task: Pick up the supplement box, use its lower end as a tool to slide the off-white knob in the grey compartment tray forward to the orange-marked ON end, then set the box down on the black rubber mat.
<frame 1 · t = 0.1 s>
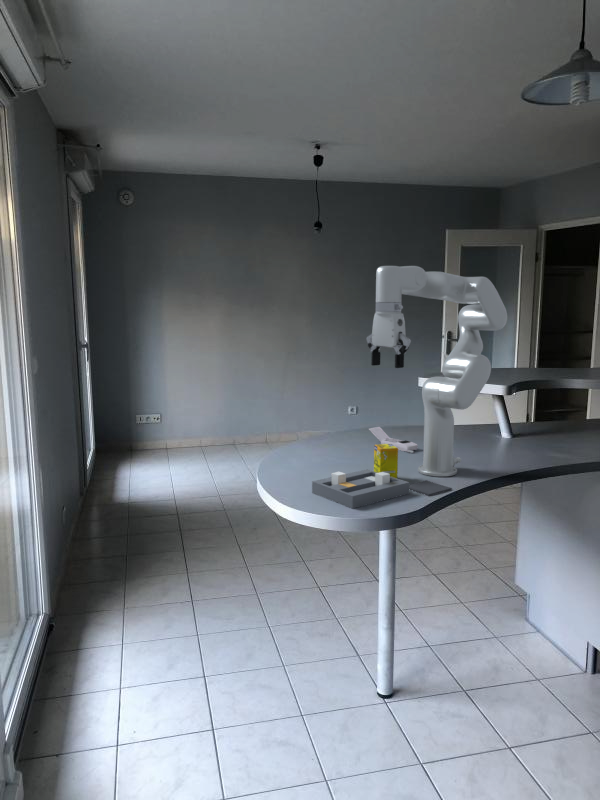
hand: (387, 366, 188), 37 cm above the breakfast bar, tool pointing down, fingers open, 9 cm apart
grey compartment tray: (360, 493, 185), on the breakfast bar
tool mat: (427, 488, 189), on the breakfast bar
switch a: (382, 479, 184), point 4 cm above the breakfast bar, slide at 0.0 cm
supplement box: (385, 480, 199), on the breakfast bar
switch b: (338, 479, 184), point 4 cm above the breakfast bar, slide at 10.0 cm
mobile phone: (393, 447, 244), on the breakfast bar
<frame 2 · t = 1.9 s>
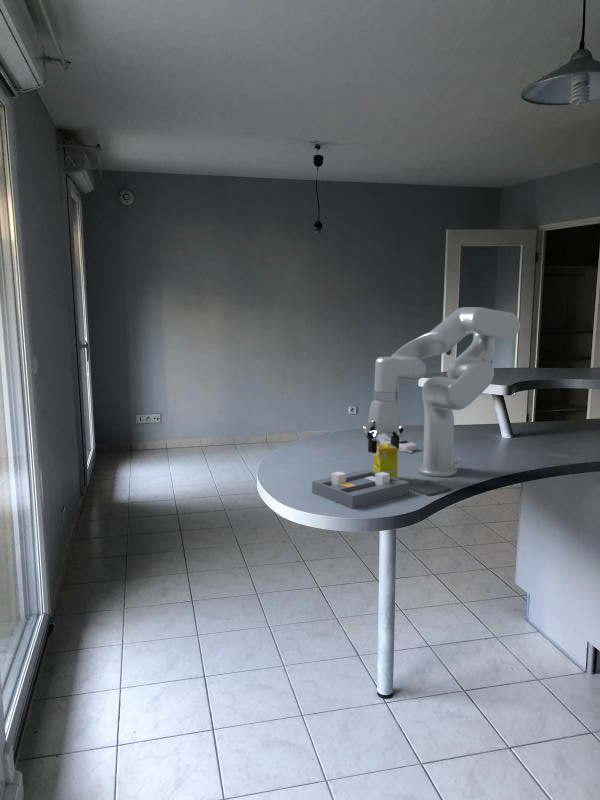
hand: (383, 450, 197), 9 cm above the breakfast bar, tool pointing down, fingers open, 9 cm apart
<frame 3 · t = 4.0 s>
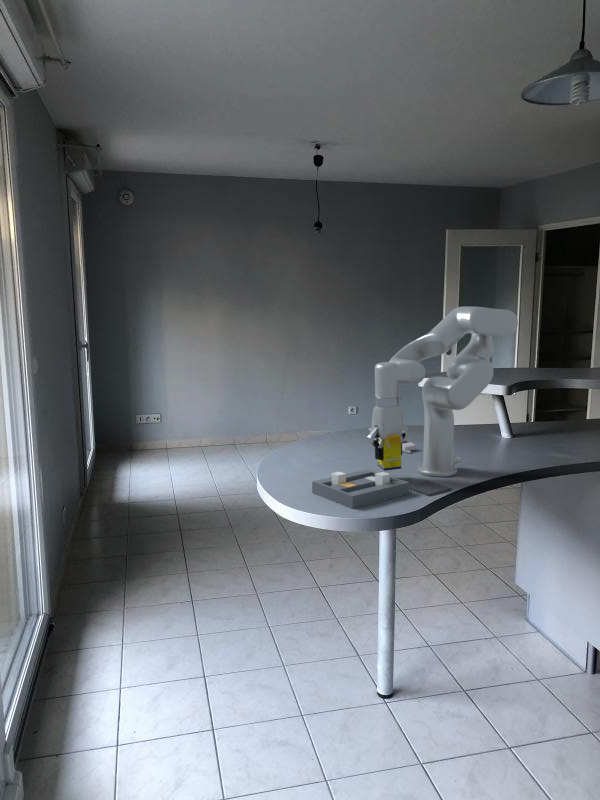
hand: (388, 456, 198), 7 cm above the breakfast bar, tool pointing down, fingers closed on supplement box, 7 cm apart
supplement box: (389, 468, 199), point 4 cm above the breakfast bar, touching gripper
everything else where it was.
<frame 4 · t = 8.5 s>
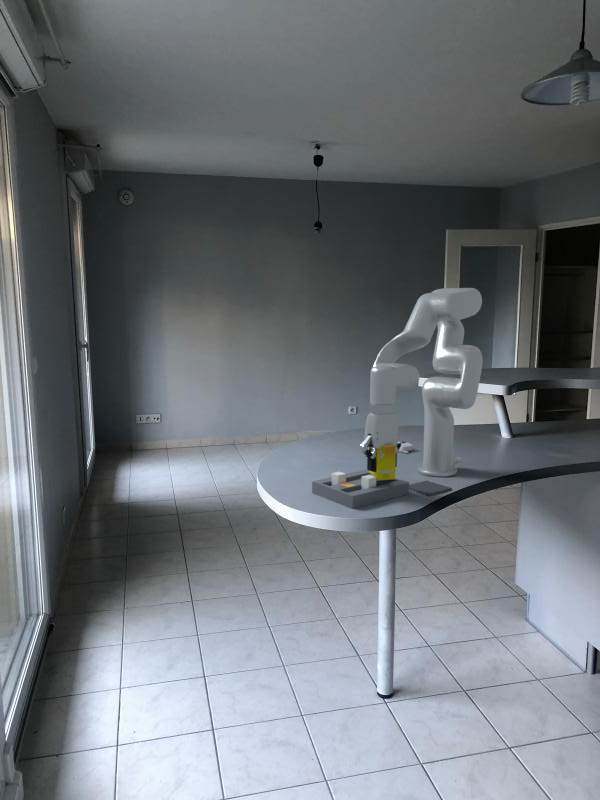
hand: (382, 468, 183), 8 cm above the breakfast bar, tool pointing down, fingers closed on supplement box, 7 cm apart
switch a: (368, 483, 181), point 4 cm above the breakfast bar, slide at 5.4 cm, touching supplement box
supplement box: (382, 480, 184), point 4 cm above the breakfast bar, touching gripper, switch a
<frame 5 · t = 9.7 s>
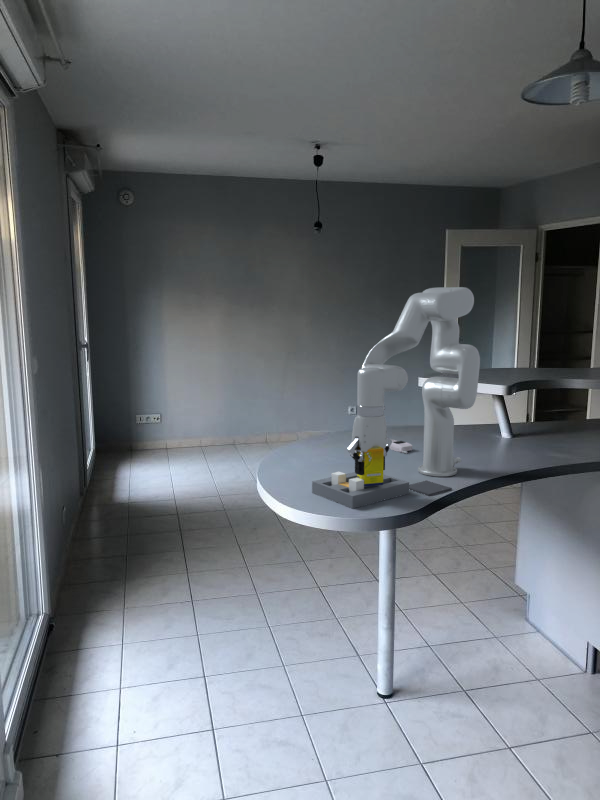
hand: (369, 471, 180), 8 cm above the breakfast bar, tool pointing down, fingers closed on supplement box, 7 cm apart
switch a: (356, 485, 178), point 4 cm above the breakfast bar, slide at 10.2 cm, touching supplement box
supplement box: (370, 483, 181), point 4 cm above the breakfast bar, touching gripper, switch a
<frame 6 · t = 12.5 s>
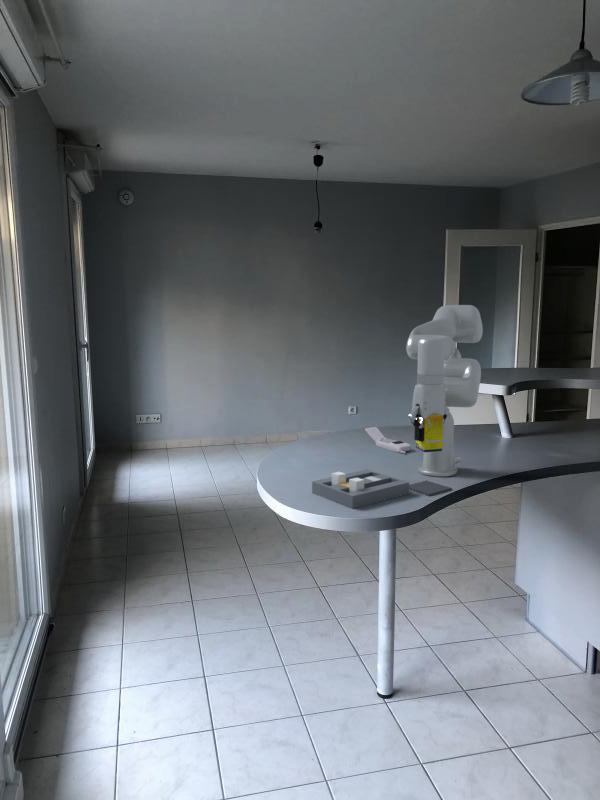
hand: (428, 438, 187), 16 cm above the breakfast bar, tool pointing down, fingers closed on supplement box, 7 cm apart
switch a: (356, 485, 178), point 4 cm above the breakfast bar, slide at 10.1 cm
supplement box: (428, 450, 187), point 12 cm above the breakfast bar, touching gripper
when the fingers open (5 cm above the breakfast bar, at t = 15.0 s): supplement box drops 1 cm, resting on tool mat.
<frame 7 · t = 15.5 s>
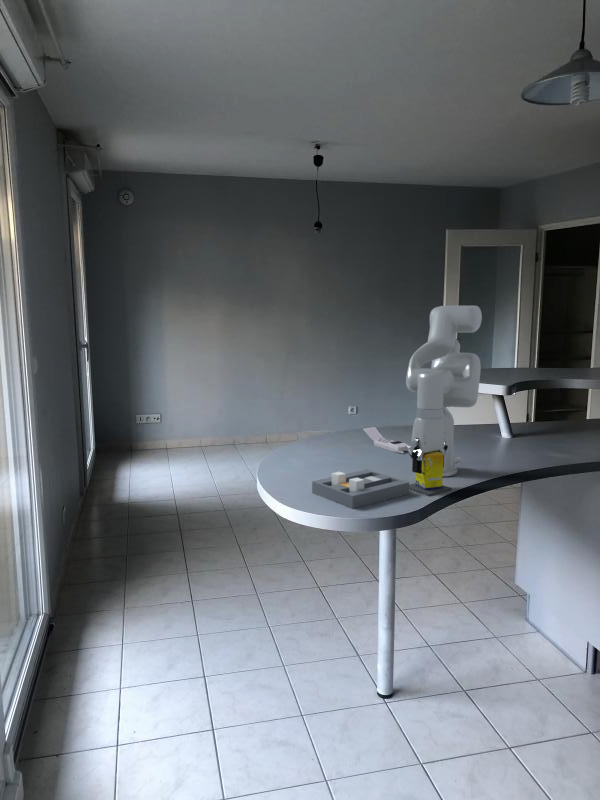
hand: (428, 469, 188), 6 cm above the breakfast bar, tool pointing down, fingers open, 9 cm apart
supplement box: (428, 487, 189), resting on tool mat
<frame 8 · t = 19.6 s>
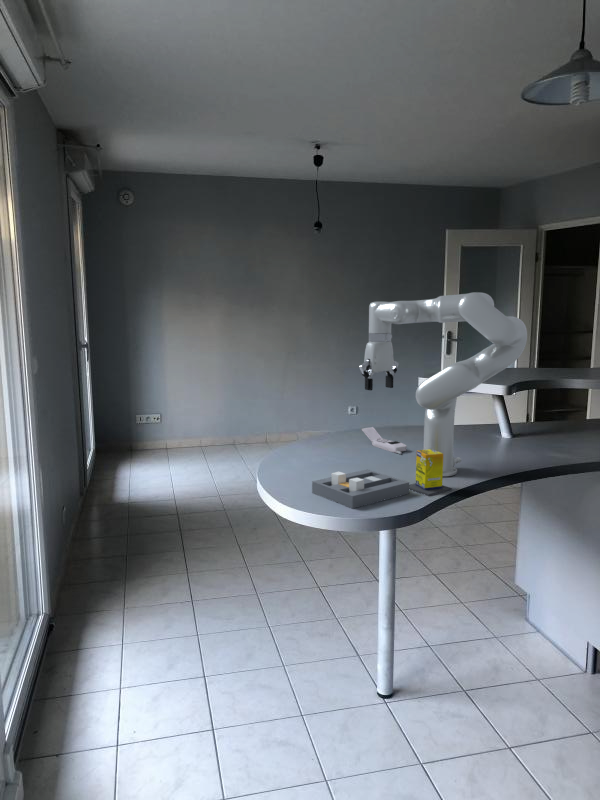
hand: (379, 388, 215), 26 cm above the breakfast bar, tool pointing down, fingers open, 9 cm apart
at the end: switch a slide at 10.1 cm; supplement box inside the target area on the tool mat (0.3 cm from its centre), point 0.4 cm above the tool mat's base; supplement box tilted 0° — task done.
